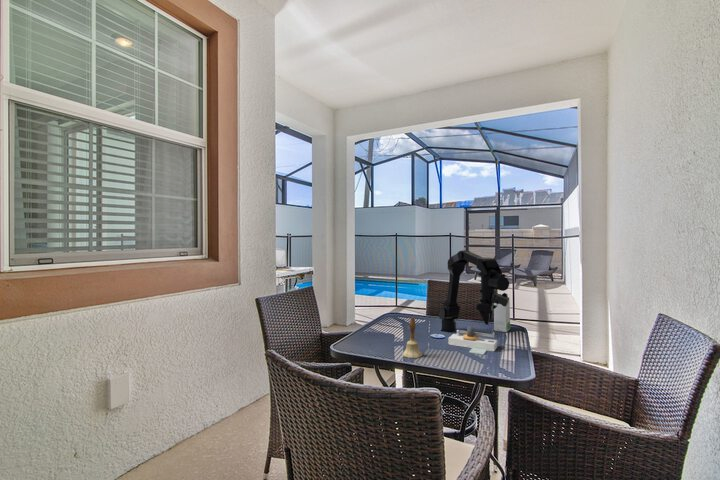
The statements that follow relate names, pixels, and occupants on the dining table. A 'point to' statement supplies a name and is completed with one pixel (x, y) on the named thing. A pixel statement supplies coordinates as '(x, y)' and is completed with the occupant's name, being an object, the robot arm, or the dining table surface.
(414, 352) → the hand bell
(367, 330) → the dining table surface
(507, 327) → the skincare box
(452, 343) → the power strip
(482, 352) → the mat
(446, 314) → the robot arm
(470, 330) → the plug
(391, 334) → the dining table surface
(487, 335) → the clip
